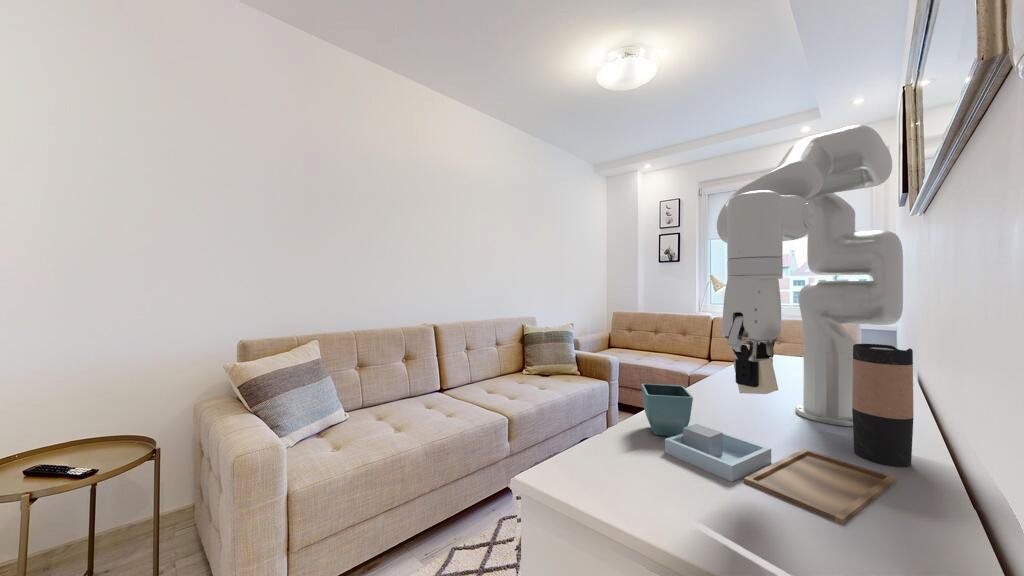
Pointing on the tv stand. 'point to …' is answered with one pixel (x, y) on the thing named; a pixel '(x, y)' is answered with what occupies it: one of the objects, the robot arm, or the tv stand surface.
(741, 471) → the light blue tray
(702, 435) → the gray block
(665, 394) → the flower pot
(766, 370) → the cream rectangular block
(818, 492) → the walnut tray
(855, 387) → the travel mug
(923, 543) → the tv stand surface
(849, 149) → the robot arm
